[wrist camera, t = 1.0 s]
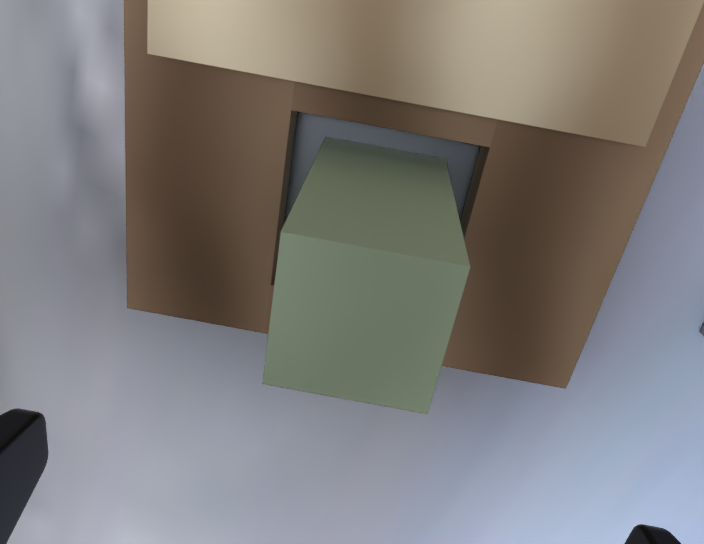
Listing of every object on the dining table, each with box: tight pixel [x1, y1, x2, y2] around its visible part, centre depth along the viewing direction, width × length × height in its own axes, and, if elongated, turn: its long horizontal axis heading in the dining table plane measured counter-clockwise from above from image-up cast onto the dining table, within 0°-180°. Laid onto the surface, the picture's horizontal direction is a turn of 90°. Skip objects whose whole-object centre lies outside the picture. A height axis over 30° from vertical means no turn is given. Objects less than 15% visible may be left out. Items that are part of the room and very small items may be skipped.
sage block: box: [262, 137, 470, 414], centre depth 17 cm, size 4×4×8 cm
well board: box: [124, 0, 704, 389], centre depth 18 cm, size 16×19×2 cm
